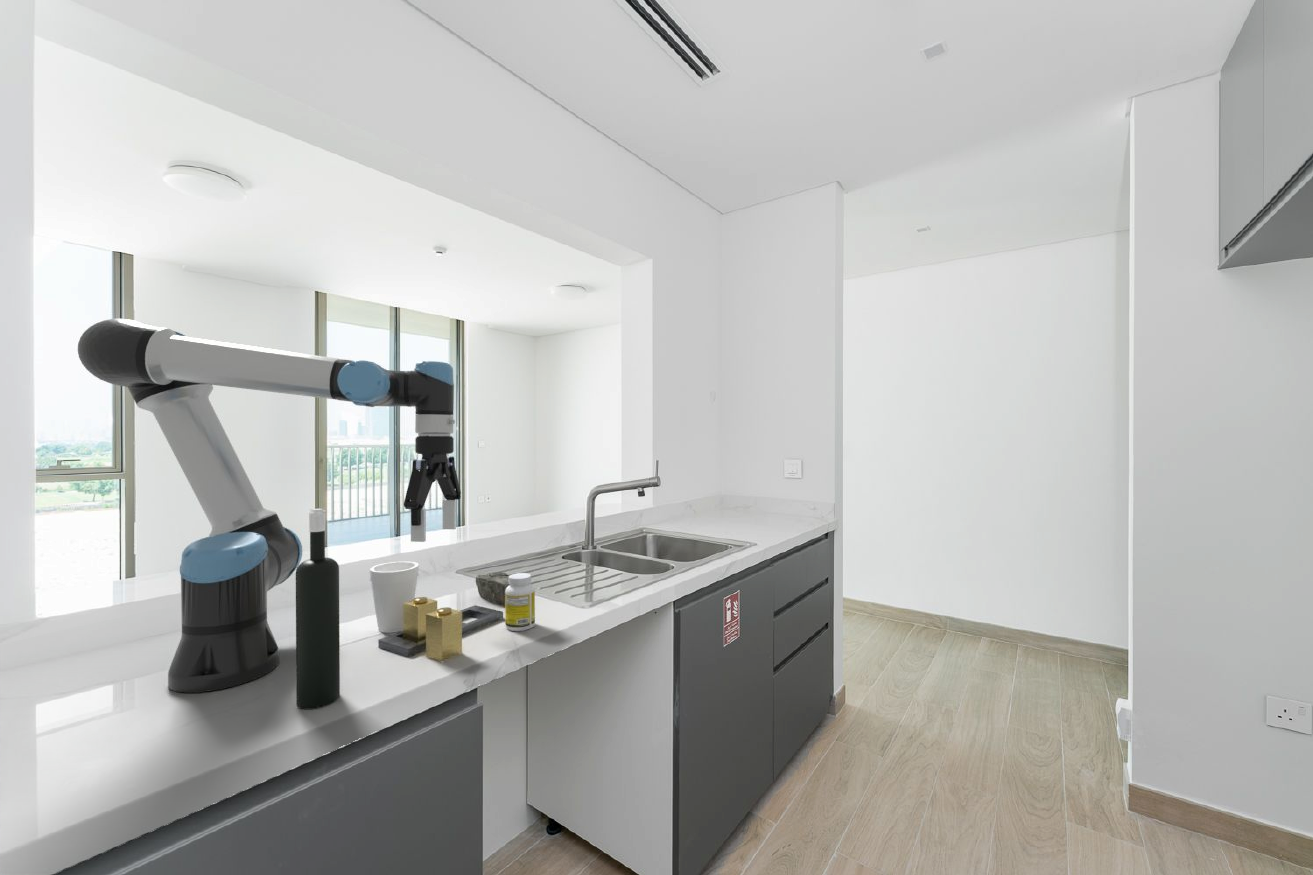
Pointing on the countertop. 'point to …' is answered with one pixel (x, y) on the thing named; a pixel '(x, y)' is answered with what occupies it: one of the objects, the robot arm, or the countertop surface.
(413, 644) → the dark grey slotted tray
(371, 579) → the foam cup
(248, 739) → the countertop surface
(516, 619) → the pill bottle
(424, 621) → the brass block with knob
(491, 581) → the stone
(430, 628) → the brass knobbed block
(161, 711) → the countertop surface
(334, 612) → the wine bottle
